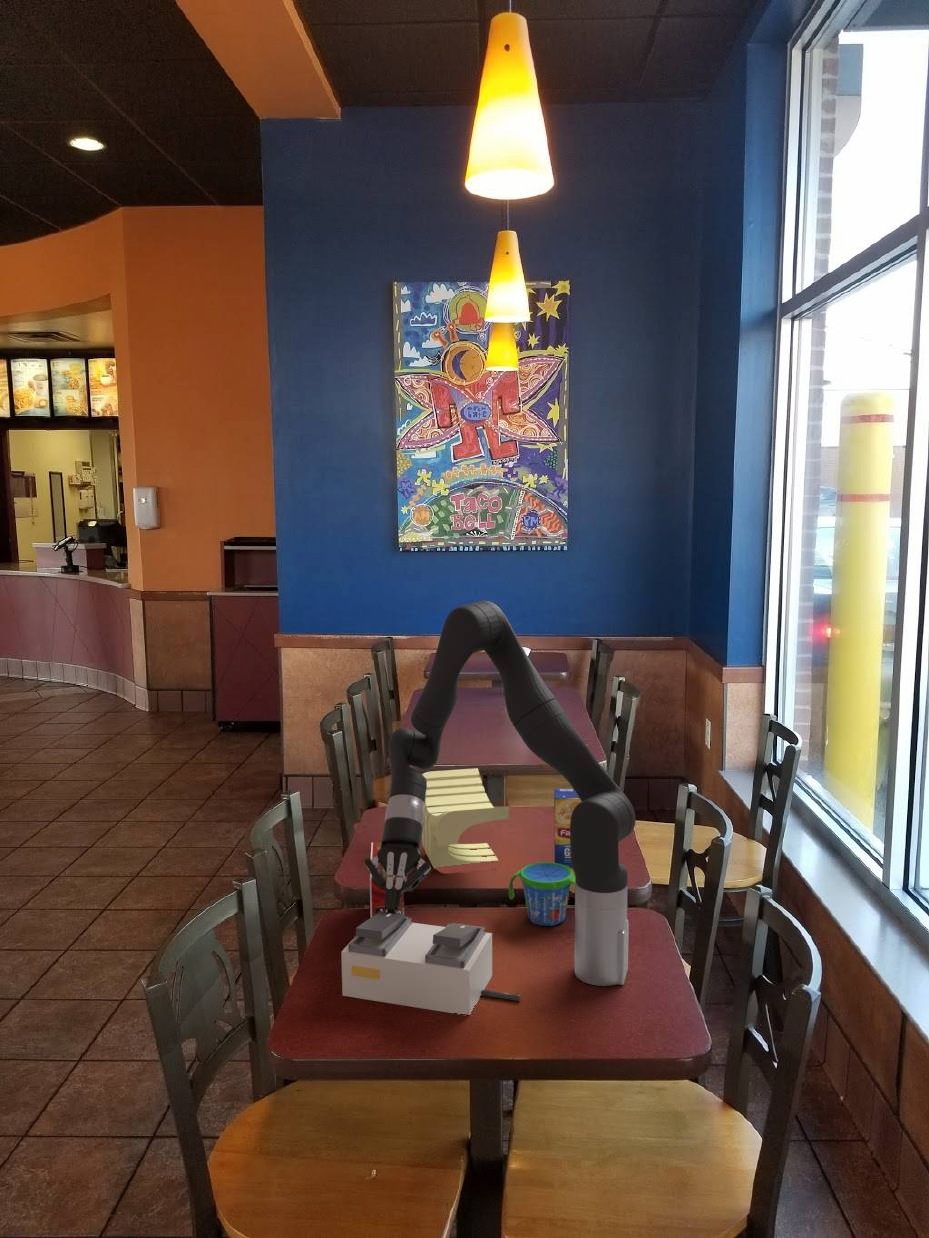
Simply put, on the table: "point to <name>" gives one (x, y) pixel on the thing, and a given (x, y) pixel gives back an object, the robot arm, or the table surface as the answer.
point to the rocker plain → (455, 935)
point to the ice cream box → (375, 892)
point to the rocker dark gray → (380, 925)
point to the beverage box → (564, 826)
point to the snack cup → (545, 891)
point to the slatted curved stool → (456, 817)
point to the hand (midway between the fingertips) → (391, 911)
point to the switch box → (420, 969)
